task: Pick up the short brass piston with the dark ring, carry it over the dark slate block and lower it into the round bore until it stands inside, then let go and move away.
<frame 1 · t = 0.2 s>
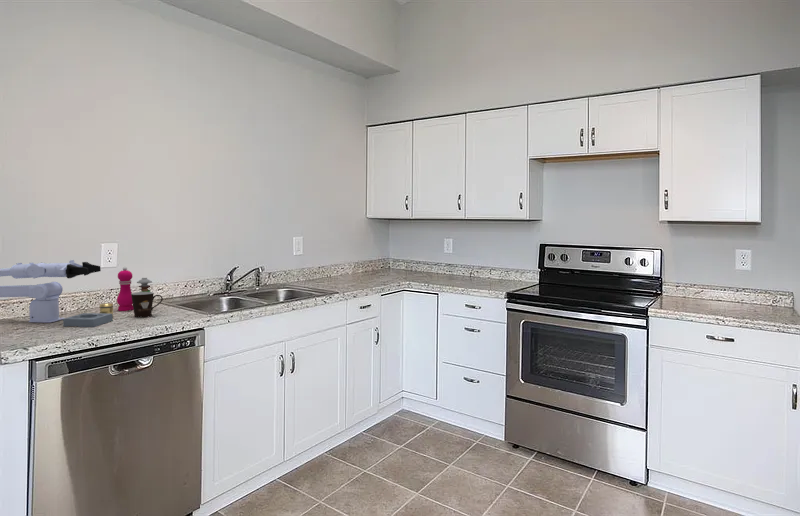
hand: (94, 269, 196), 21 cm above the worktop, tool horizontal, fingers open, 7 cm apart
piston: (106, 318, 206), on the worktop
pepper mill: (126, 310, 225), on the worktop
bore block: (88, 323, 194), on the worktop
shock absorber: (145, 310, 225), on the worktop
coffee mug: (146, 316, 211), on the worktop
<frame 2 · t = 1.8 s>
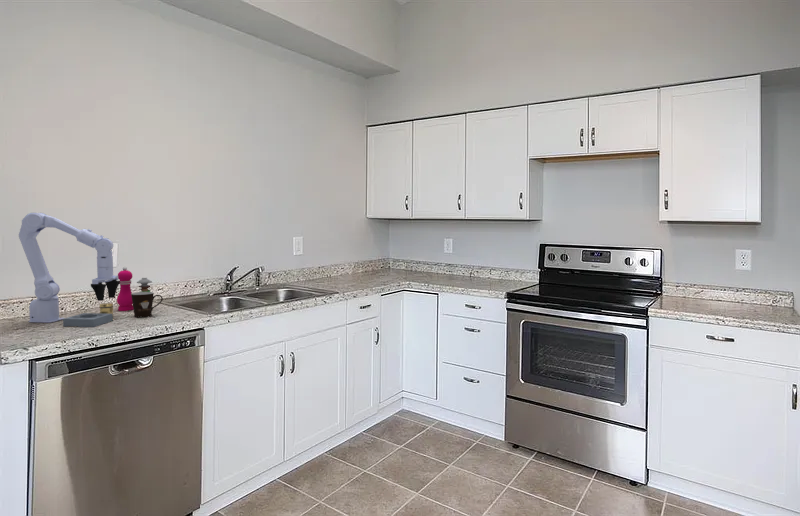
hand: (106, 299, 205), 8 cm above the worktop, tool pointing down, fingers open, 7 cm apart
nothing on the worktop moved.
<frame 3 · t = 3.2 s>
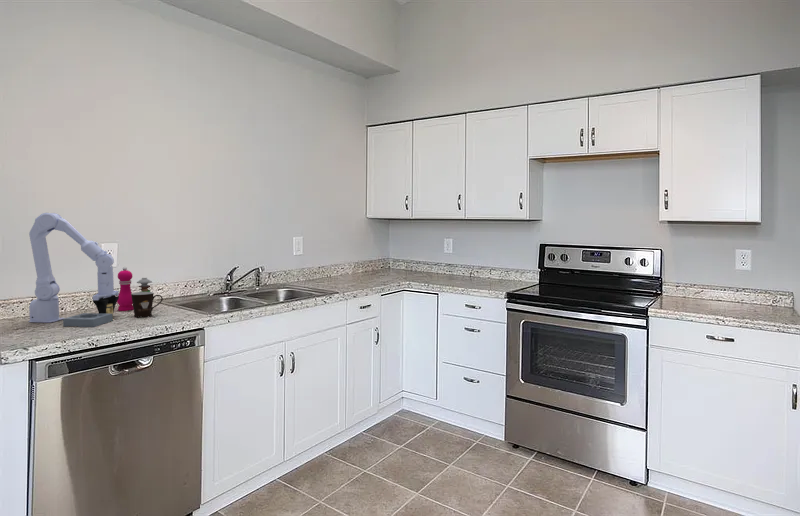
hand: (106, 314, 206), 1 cm above the worktop, tool pointing down, fingers closed on piston, 5 cm apart
piston: (106, 317, 206), on the worktop, touching gripper
everything else where it was.
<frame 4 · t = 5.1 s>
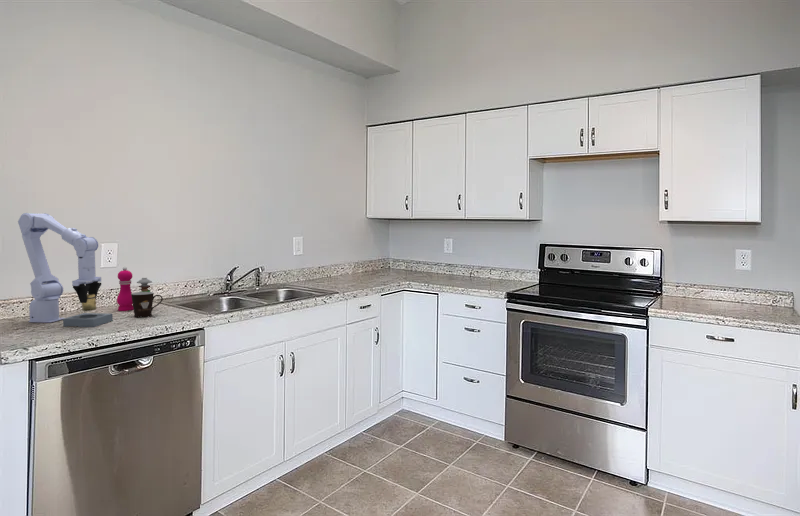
hand: (87, 301, 194), 9 cm above the worktop, tool pointing down, fingers closed on piston, 5 cm apart
piston: (89, 309, 194), point 6 cm above the worktop, touching gripper
everything else where it was.
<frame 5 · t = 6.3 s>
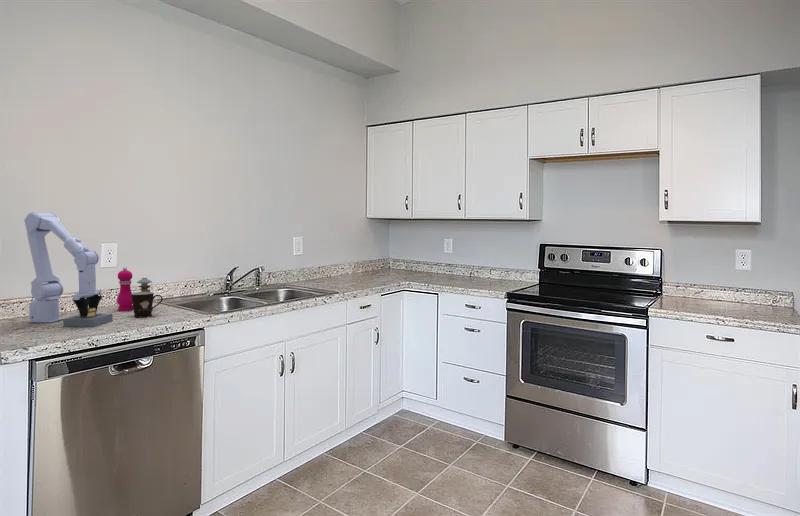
hand: (88, 315, 194), 3 cm above the worktop, tool pointing down, fingers closed on piston, 5 cm apart
piston: (89, 323, 194), resting in bore block, touching gripper
everything else where it was.
when the fingers open (3 cm above the worktop, at t = 7.0 s): piston stays where it is, resting in bore block.
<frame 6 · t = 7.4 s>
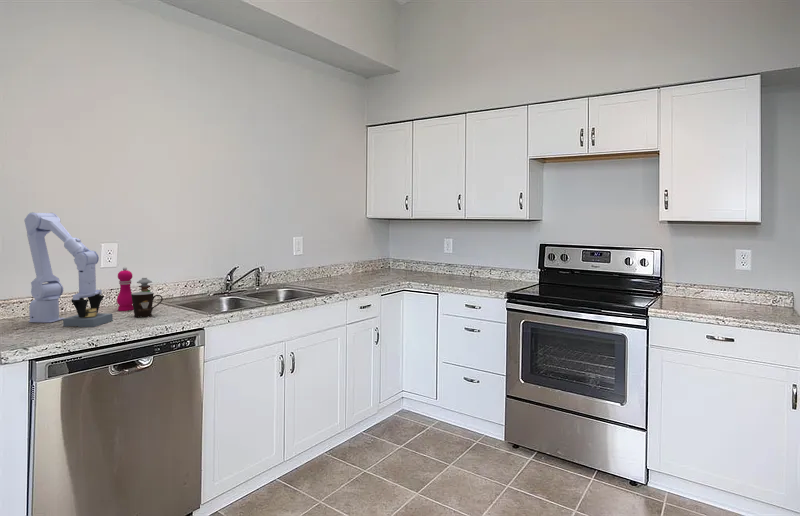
hand: (88, 315, 194), 3 cm above the worktop, tool pointing down, fingers open, 7 cm apart
piston: (90, 323, 194), resting in bore block
everything else where it was.
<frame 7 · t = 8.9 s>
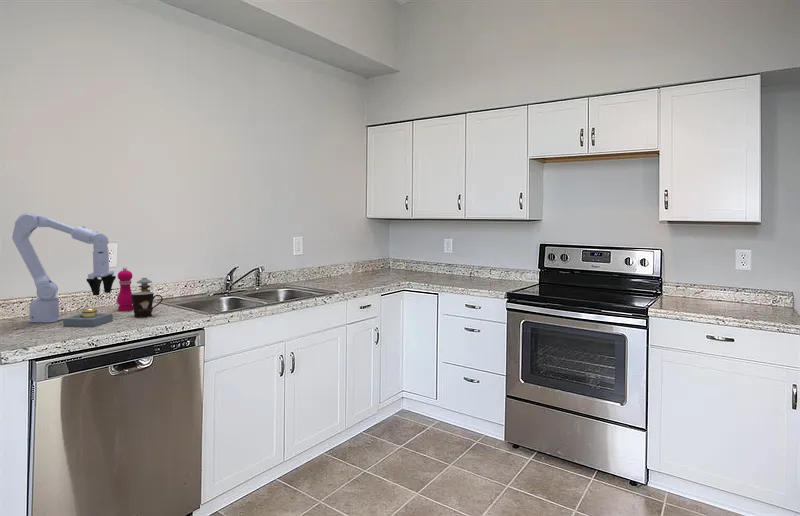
hand: (102, 294, 207), 10 cm above the worktop, tool pointing down, fingers open, 7 cm apart
nothing on the worktop moved.
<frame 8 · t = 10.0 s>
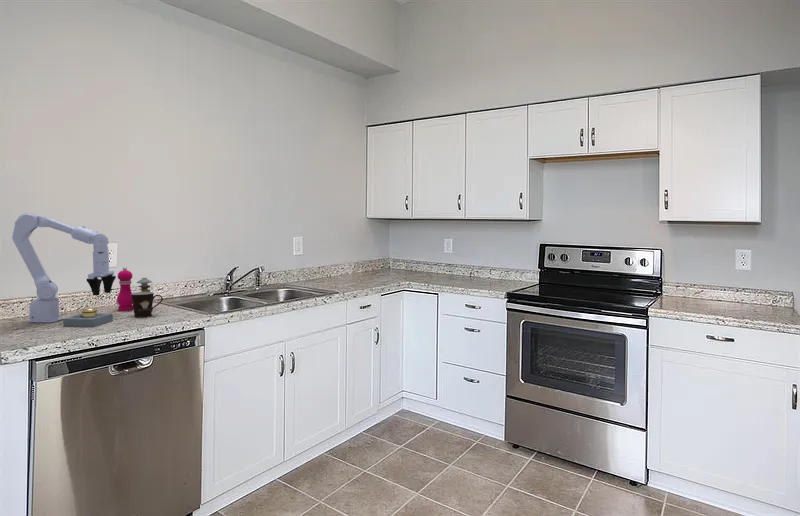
hand: (102, 294, 207), 10 cm above the worktop, tool pointing down, fingers open, 7 cm apart
nothing on the worktop moved.
at the end: piston 0.4 cm off-centre in the bore block, point 0.0 cm above the bore block's base; piston tilted 0°; the gripper is holding nothing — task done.
